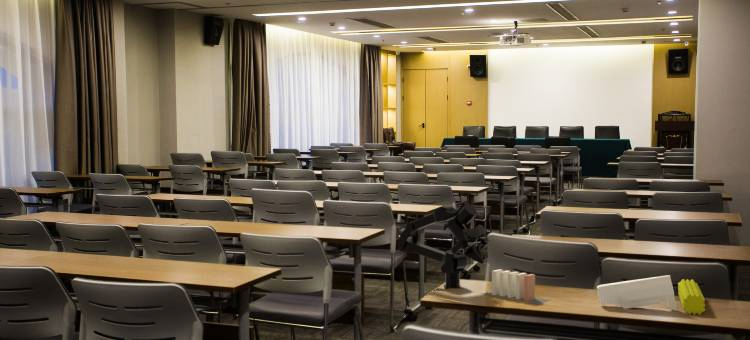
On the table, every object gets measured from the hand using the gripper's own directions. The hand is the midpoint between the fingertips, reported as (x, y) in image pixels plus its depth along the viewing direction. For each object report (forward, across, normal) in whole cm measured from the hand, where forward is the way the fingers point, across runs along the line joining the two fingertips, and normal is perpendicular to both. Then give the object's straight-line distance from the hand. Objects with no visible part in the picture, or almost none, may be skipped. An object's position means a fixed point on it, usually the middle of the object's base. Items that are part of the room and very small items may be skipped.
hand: (482, 263), depth 294 cm
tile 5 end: (+22, 0, -7) cm, 23 cm away
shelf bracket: (+47, +16, -30) cm, 58 cm away
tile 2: (+15, 0, +1) cm, 15 cm away
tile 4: (+20, 0, -4) cm, 20 cm away
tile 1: (+12, 0, +3) cm, 13 cm away
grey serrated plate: (+19, 0, -2) cm, 19 cm away
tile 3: (+17, 0, -2) cm, 17 cm away
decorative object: (+55, +35, -38) cm, 76 cm away
